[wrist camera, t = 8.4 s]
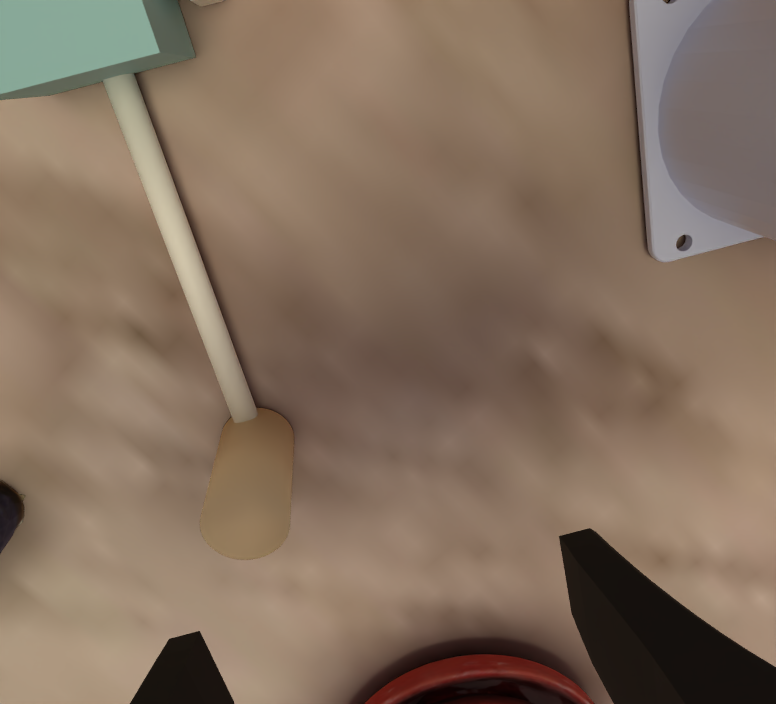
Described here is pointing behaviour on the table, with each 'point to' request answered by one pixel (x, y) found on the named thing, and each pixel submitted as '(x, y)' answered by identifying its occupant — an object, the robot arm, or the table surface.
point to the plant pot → (481, 683)
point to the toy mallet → (116, 70)
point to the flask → (9, 512)
